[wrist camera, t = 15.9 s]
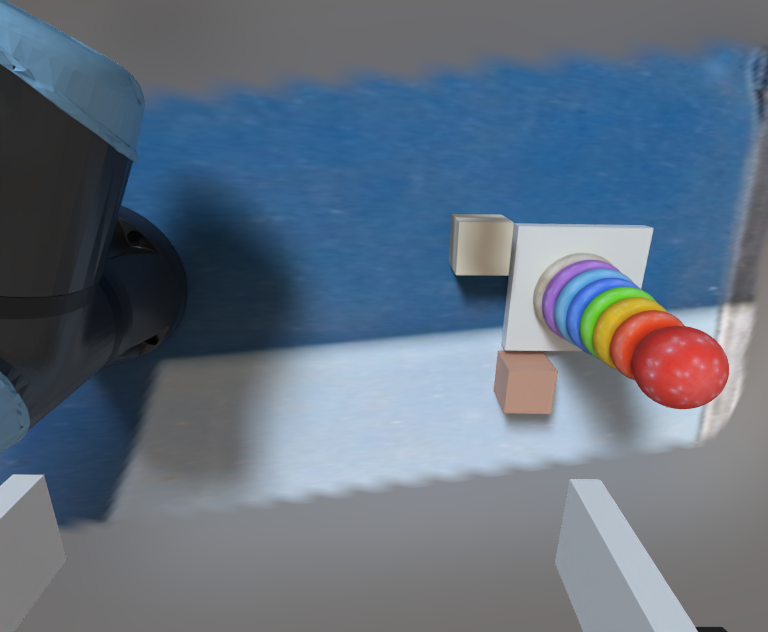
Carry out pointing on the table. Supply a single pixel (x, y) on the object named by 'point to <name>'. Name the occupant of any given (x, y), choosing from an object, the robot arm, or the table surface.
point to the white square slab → (544, 247)
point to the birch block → (480, 244)
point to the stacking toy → (629, 331)
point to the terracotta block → (525, 382)
